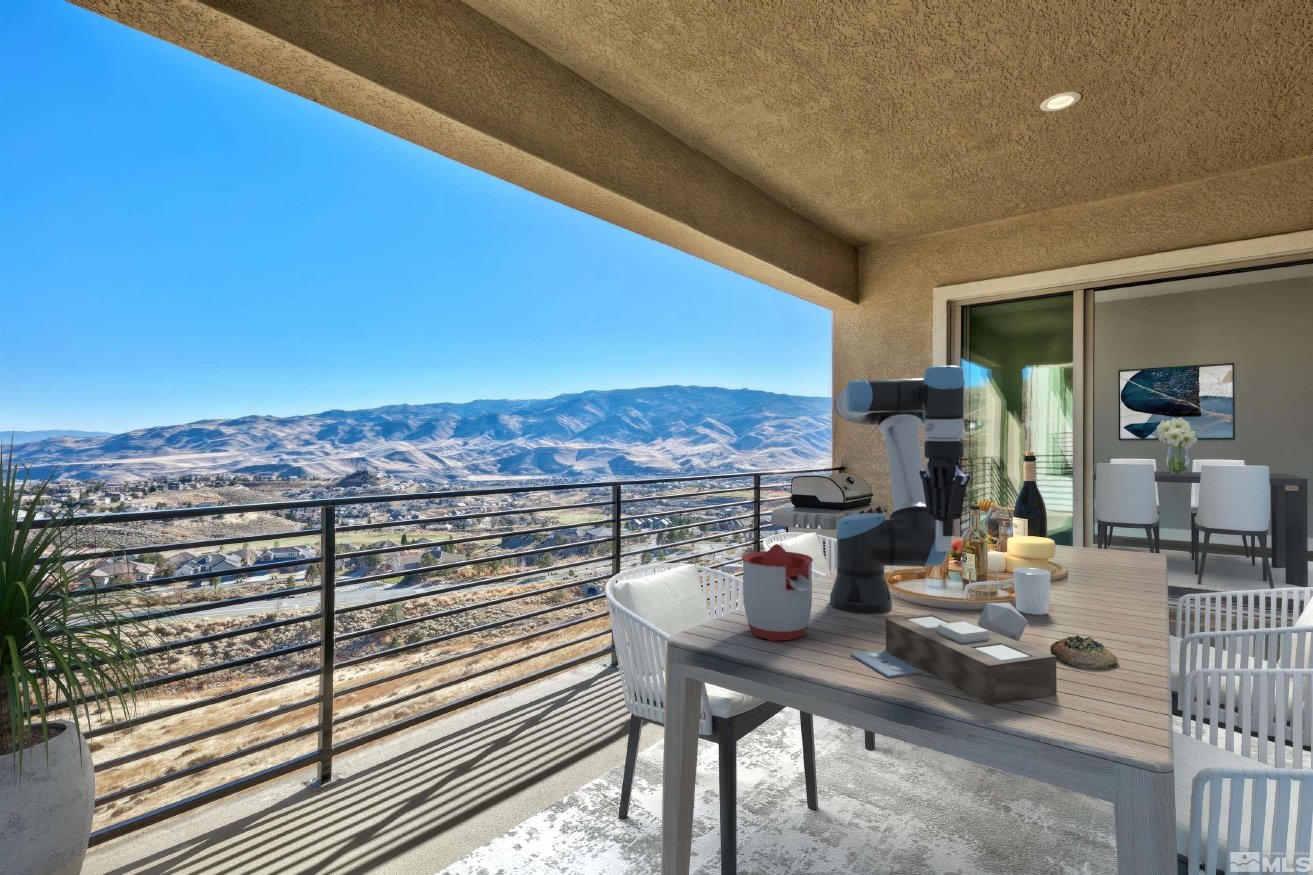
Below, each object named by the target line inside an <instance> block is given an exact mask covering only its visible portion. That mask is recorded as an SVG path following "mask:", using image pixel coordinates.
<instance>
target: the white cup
mask: <svg viewBox="0 0 1313 875" xmlns="http://www.w3.org/2000/svg"><path fill="white" fill-rule="evenodd" d="M1051 575H1052V574H1051V571H1050V570H1046V569H1042V568H1036V567H1025V566H1024V567H1023V566H1022V567H1015V568H1013V586H1014V587H1013V588H1014V599H1015V609H1016V610H1017V611H1018V612H1019V613H1020V612H1021V613H1024V614H1028V615H1037V616H1044V615H1047V614H1049V602H1050V594H1051Z"/></svg>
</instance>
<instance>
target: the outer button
mask: <svg viewBox="0 0 1313 875" xmlns="http://www.w3.org/2000/svg"><path fill="white" fill-rule="evenodd" d="M974 649H976V650H978V651H980V652H983V653H985V654H987V655H990V656H992V657H994V658H996V659H999V660H1001V661H1003V660H1011V659H1018V658H1025V657H1030V656H1028V655H1026V654H1023V653H1021V652H1019V651H1016V650H1014V649H1011V648H1009V647H1006V646H1004V645H996V646H988V647H980V648H974Z"/></svg>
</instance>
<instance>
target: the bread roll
mask: <svg viewBox="0 0 1313 875" xmlns="http://www.w3.org/2000/svg"><path fill="white" fill-rule="evenodd" d="M1049 649H1050V654H1052V655H1055V656H1056V659H1057V658H1058V660H1059V661H1060V662H1062V663H1065V664H1067V665H1071V666H1073V667H1078V668H1081V669H1082V668H1083V669H1108V668H1110V667H1112V666H1114V665H1116V664H1119V662H1120V661H1119V660H1118V658H1117V656H1116V655H1115V654H1114V653H1112V652H1111V651H1110V650H1108V649H1107V648H1105V646H1104V645H1103V643H1101V642H1099V641H1097V640H1096V641H1095V640H1094V638H1092V637H1091V636H1088V637H1082V636H1080V635H1079V634H1078V635H1075V636H1072V635H1071V636H1070V635H1068V636H1067V637H1065V638H1062V639H1060V640H1057V641H1054V643H1052V644H1051V645H1050V648H1049Z"/></svg>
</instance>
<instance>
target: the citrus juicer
mask: <svg viewBox="0 0 1313 875" xmlns="http://www.w3.org/2000/svg"><path fill="white" fill-rule="evenodd" d="M741 560H742V581H743V582H742V586H743V587H742V595H743V606H744V612H745V615H746V619H747V624H748V627H749V629H750V631H751V634H753V635H755V636H756V637H759V638H762V639H767V640H770V641H772V642H779V641H791V640H796V639H799V638H801V637H803V636H804V635H805V633H806V631H807V629H808V625H809V620H810V617H811V611H812V602H813V581H812V580H813V578H812V577H813V576H812V575H813V572H812V569H813V566H812V565H813V564H812V562H814V559H813V557H811V556H810V555H807V554H803V553H798V552H792V551H786V550H785V549H784V548H783V546H781V545H780V544H778V543H775V544H774V545H773V546H771V547H770V548H769V549H768V551H767V550H766V551H755V552H754V551H753V552H749V553H746V554H745V553H744V554H743V555H742V556H741Z"/></svg>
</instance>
